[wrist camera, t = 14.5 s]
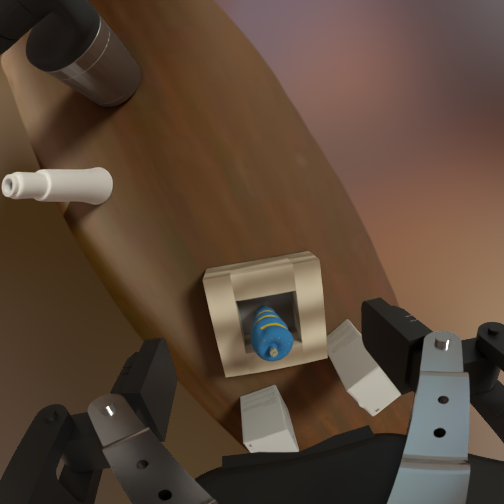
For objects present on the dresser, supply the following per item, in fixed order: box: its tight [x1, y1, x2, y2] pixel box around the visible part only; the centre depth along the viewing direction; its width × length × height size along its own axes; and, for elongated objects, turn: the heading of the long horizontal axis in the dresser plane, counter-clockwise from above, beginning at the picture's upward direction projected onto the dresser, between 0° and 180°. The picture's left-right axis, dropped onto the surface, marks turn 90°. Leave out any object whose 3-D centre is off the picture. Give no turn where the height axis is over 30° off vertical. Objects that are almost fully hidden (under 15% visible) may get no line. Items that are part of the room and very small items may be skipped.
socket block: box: [203, 251, 328, 377], centre depth 44 cm, size 16×16×6 cm
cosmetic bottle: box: [2, 167, 113, 205], centre depth 31 cm, size 6×6×22 cm
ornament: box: [251, 305, 293, 361], centre depth 40 cm, size 5×5×15 cm
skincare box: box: [326, 319, 401, 416], centre depth 42 cm, size 8×7×16 cm
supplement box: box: [240, 385, 299, 453], centre depth 45 cm, size 7×7×13 cm
